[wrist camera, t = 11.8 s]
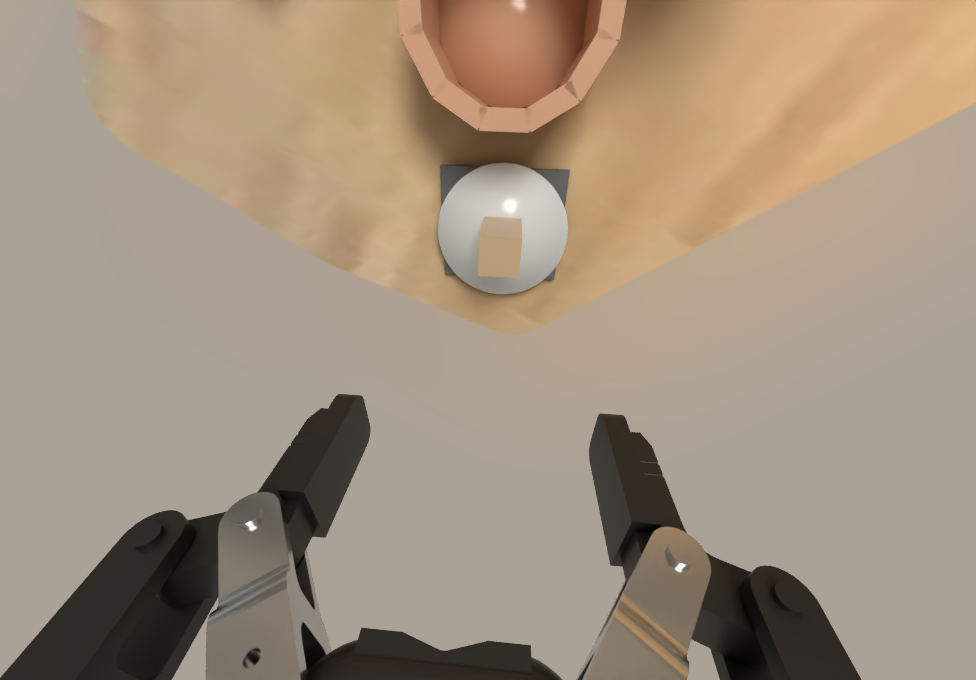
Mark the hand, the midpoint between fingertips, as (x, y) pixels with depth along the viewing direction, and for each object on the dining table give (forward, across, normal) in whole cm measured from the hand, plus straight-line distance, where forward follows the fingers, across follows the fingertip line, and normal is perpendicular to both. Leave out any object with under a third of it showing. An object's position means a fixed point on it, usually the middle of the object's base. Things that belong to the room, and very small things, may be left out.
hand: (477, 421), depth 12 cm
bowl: (+22, 0, -14) cm, 26 cm away
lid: (+21, 0, 0) cm, 21 cm away
